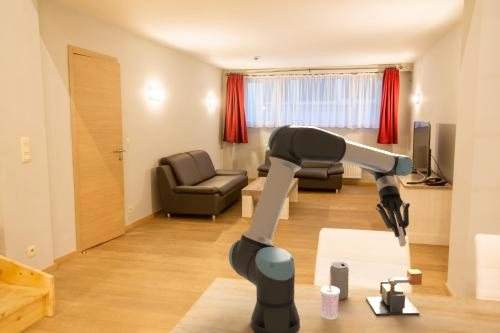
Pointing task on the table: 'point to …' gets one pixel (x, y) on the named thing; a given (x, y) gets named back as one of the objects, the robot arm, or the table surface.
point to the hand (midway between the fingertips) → (403, 244)
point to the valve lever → (408, 278)
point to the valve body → (391, 302)
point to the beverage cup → (330, 301)
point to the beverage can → (340, 278)
